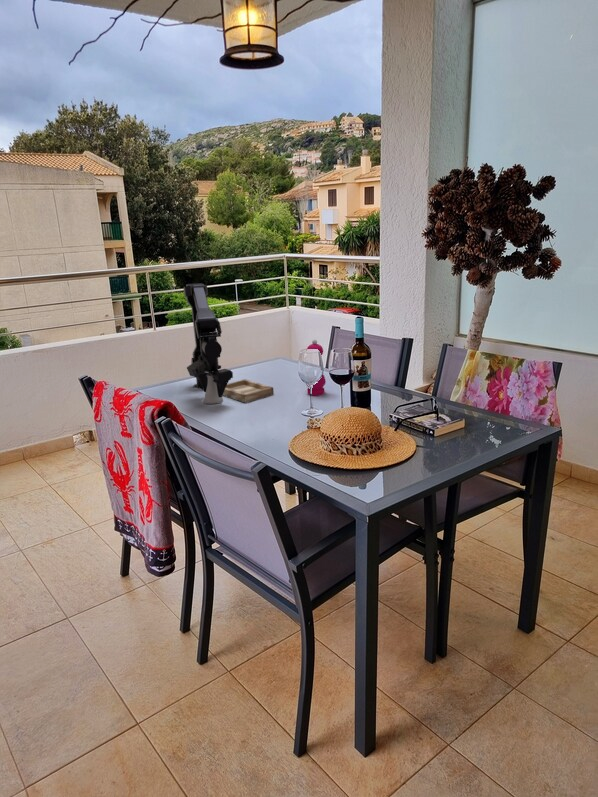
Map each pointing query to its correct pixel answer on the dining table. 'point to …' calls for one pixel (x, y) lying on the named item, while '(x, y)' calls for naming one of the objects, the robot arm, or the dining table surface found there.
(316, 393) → the pepper mill
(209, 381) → the flask
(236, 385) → the serving tray
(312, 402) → the dining table surface
